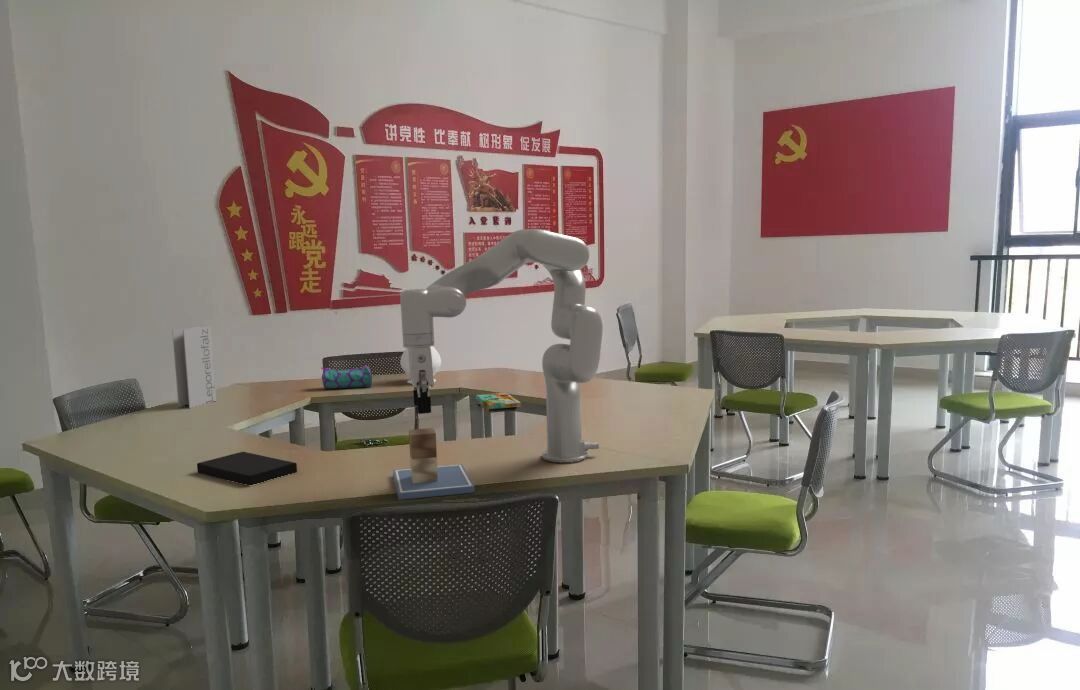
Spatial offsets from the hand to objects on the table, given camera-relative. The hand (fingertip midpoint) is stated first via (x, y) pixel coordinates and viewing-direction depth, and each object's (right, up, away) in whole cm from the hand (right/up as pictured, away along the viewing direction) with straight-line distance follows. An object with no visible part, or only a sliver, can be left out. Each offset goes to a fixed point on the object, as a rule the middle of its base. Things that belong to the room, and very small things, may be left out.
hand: (422, 409), depth 190 cm
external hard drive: (-49, -19, +17) cm, 55 cm away
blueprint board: (+2, -19, +3) cm, 19 cm away
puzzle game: (+14, -8, +92) cm, 93 cm away
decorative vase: (-24, -1, +153) cm, 155 cm away
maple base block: (0, -18, +2) cm, 18 cm away
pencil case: (-54, -3, +142) cm, 152 cm away
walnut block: (0, -12, +1) cm, 12 cm away
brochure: (-105, -8, +112) cm, 154 cm away
